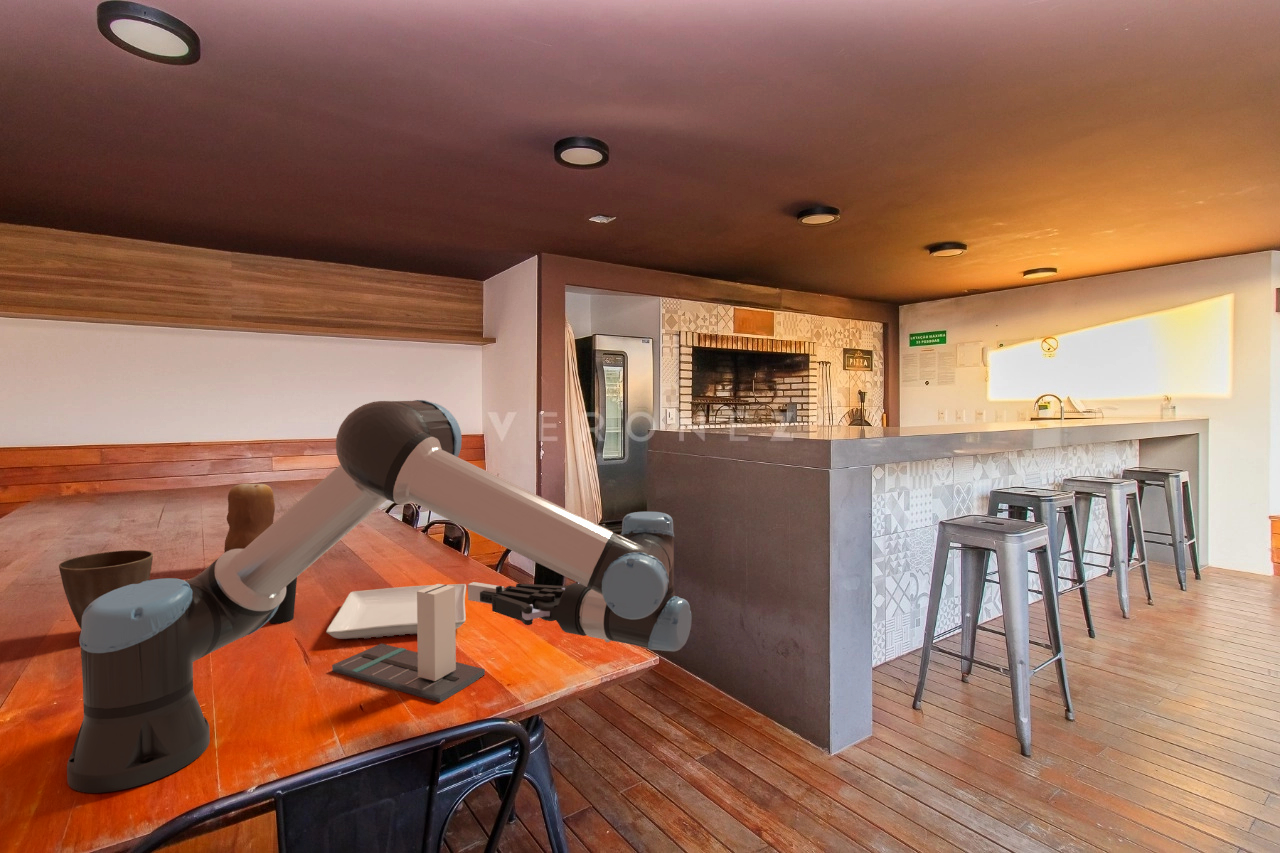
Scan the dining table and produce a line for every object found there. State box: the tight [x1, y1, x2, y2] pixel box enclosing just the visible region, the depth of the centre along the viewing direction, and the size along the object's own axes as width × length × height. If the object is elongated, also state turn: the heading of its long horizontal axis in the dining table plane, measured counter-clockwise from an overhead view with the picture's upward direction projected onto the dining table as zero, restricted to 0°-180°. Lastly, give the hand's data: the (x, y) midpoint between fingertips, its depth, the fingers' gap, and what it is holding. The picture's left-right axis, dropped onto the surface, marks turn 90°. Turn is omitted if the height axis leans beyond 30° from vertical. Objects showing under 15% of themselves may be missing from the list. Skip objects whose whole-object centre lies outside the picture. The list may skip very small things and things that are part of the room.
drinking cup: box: [268, 576, 298, 624], centre depth 137 cm, size 8×8×20 cm
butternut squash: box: [223, 483, 276, 554], centre depth 179 cm, size 14×13×25 cm
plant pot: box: [58, 549, 154, 630], centre depth 128 cm, size 15×15×16 cm
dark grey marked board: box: [331, 643, 486, 704], centre depth 110 cm, size 26×11×1 cm, turn 64°
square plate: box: [325, 583, 467, 640], centre depth 138 cm, size 27×27×4 cm
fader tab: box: [416, 583, 457, 681], centre depth 107 cm, size 4×5×15 cm
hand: (471, 590), depth 103 cm, fingers closed
